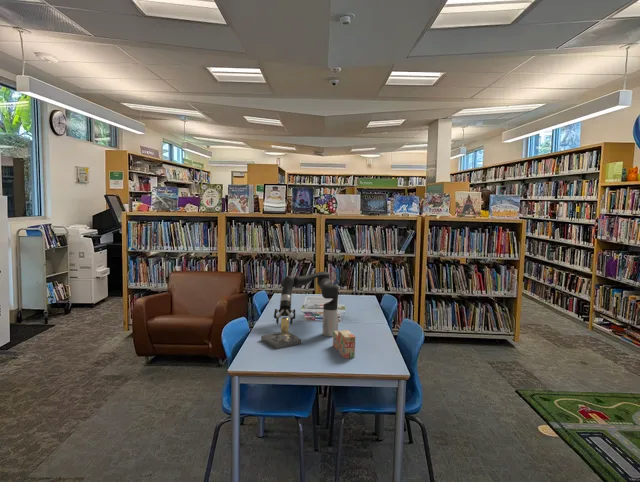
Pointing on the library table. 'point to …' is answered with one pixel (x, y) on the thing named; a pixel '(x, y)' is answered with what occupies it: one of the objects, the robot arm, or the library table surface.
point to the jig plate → (281, 340)
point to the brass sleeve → (284, 324)
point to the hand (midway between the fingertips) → (284, 323)
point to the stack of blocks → (344, 343)
